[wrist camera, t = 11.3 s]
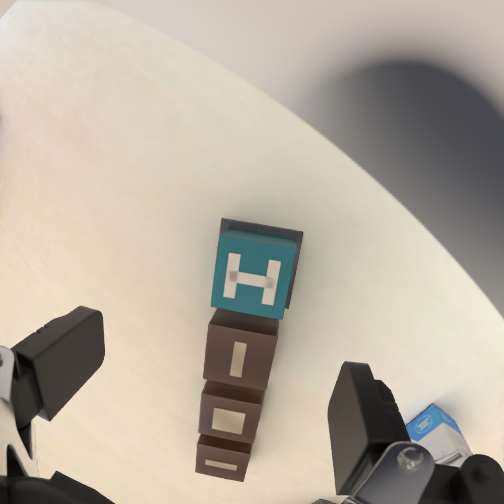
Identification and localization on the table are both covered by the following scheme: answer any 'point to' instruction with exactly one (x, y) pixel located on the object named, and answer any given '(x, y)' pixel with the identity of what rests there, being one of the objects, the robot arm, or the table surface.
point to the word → (237, 376)
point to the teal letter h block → (253, 273)
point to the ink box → (439, 437)
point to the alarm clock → (322, 502)
